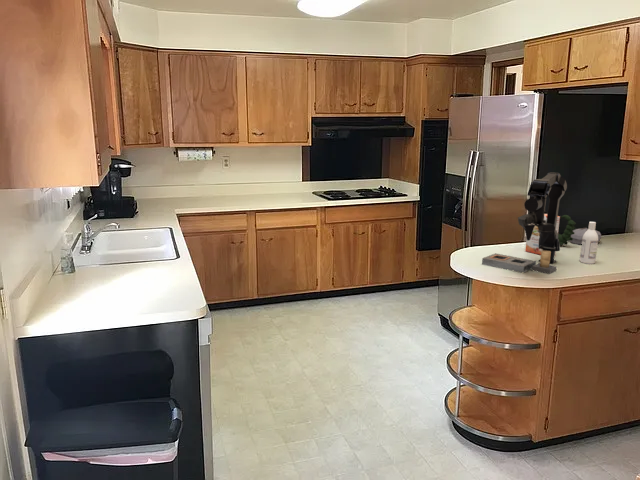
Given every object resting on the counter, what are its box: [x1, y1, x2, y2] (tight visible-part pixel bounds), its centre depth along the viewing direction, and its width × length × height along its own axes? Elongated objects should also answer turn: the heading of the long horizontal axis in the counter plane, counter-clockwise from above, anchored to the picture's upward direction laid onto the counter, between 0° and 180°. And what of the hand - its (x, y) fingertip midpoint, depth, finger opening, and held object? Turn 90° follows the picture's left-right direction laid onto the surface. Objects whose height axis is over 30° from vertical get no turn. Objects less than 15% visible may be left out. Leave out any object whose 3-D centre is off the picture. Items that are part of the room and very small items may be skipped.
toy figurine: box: [558, 214, 577, 246], centre depth 294 cm, size 9×19×25 cm
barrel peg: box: [539, 251, 551, 268], centre depth 238 cm, size 4×4×7 cm
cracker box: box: [524, 214, 561, 256], centre depth 269 cm, size 14×6×21 cm, turn 35°
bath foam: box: [579, 221, 599, 265], centre depth 254 cm, size 7×7×20 cm
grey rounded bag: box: [569, 226, 602, 245], centre depth 300 cm, size 15×8×20 cm
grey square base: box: [531, 262, 557, 275], centre depth 239 cm, size 8×8×2 cm
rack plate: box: [481, 253, 537, 273], centre depth 246 cm, size 14×20×3 cm
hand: (534, 242), depth 234 cm, fingers open, 9 cm apart
